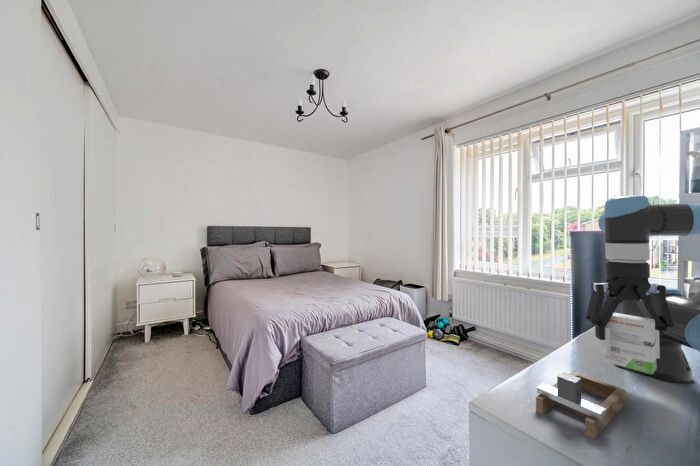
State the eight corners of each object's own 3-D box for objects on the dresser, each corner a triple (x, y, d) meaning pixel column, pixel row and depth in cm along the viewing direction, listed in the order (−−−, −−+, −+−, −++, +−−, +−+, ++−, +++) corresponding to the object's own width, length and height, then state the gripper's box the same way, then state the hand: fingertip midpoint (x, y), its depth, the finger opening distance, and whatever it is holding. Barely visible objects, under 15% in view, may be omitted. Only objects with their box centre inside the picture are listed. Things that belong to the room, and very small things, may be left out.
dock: (573, 384, 68) (573, 371, 68) (625, 403, 60) (625, 390, 60) (536, 411, 58) (536, 396, 58) (593, 439, 50) (593, 422, 50)
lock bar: (543, 388, 61) (543, 365, 61) (605, 414, 52) (605, 387, 52) (537, 392, 59) (537, 368, 59) (600, 420, 50) (600, 392, 50)
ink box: (657, 369, 64) (656, 318, 64) (652, 375, 61) (650, 322, 61) (608, 356, 71) (607, 310, 71) (601, 361, 69) (600, 313, 69)
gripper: (667, 259, 68) (669, 351, 68) (566, 259, 72) (568, 345, 72) (698, 262, 61) (700, 365, 60) (584, 262, 65) (586, 357, 65)
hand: (628, 354), depth 66 cm, fingers closed on ink box, 9 cm apart
